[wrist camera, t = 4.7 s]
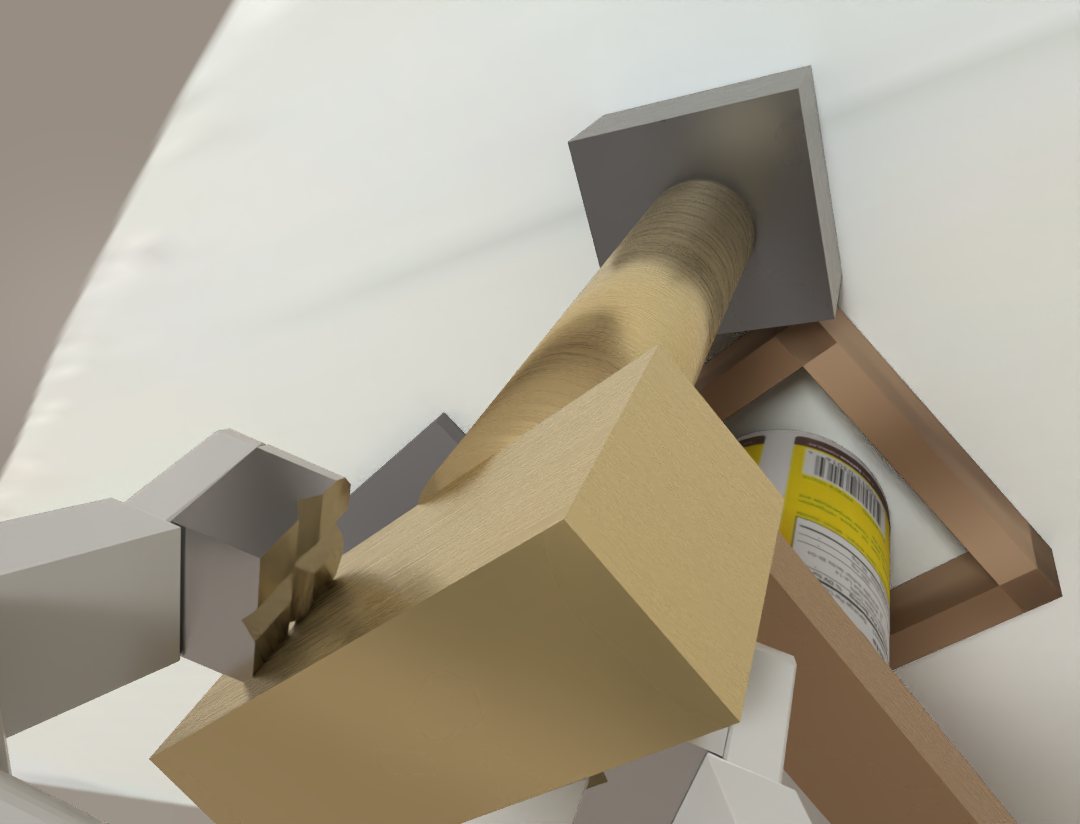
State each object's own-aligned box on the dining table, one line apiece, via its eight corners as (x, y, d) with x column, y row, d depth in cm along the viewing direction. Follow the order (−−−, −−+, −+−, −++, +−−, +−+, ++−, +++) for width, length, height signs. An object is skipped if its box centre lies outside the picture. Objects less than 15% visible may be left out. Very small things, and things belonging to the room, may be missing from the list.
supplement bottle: (688, 568, 29) (599, 850, 20) (692, 409, 26) (592, 656, 18) (879, 599, 27) (868, 920, 19) (904, 432, 24) (906, 718, 16)
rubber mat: (679, 653, 30) (675, 665, 30) (472, 760, 36) (467, 772, 36) (444, 412, 29) (435, 421, 28) (269, 565, 35) (260, 575, 34)
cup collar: (1051, 548, 25) (1062, 596, 23) (765, 682, 30) (757, 728, 28) (816, 281, 23) (809, 311, 22) (561, 469, 29) (540, 505, 27)
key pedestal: (603, 115, 23) (567, 141, 21) (810, 65, 21) (798, 88, 19) (648, 302, 25) (620, 347, 23) (842, 273, 23) (834, 318, 20)
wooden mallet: (565, 267, 22) (135, 746, 10) (780, 99, 18) (545, 497, 6) (891, 667, 24) (878, 1465, 12) (1133, 578, 21) (1461, 1553, 9)
